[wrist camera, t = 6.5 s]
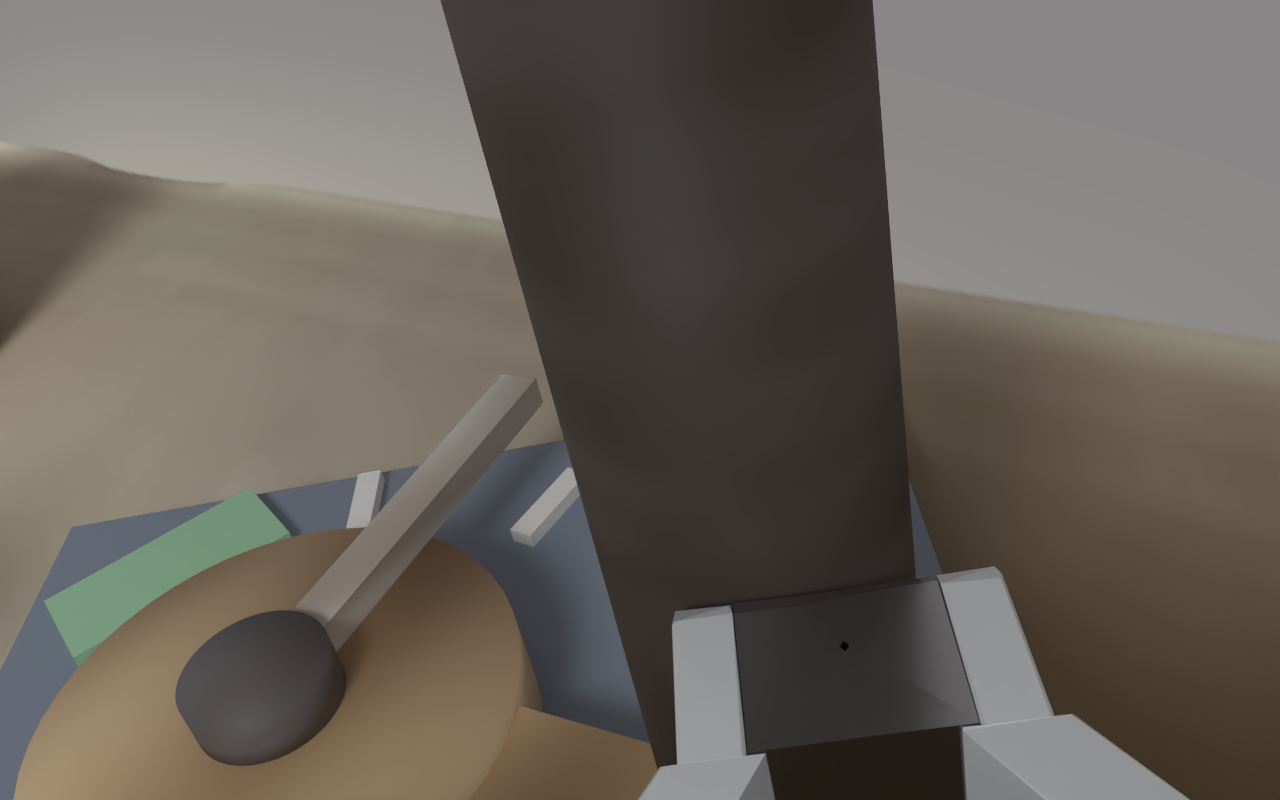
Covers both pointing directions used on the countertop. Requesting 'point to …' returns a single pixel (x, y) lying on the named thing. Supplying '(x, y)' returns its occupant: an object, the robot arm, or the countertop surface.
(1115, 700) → the countertop surface
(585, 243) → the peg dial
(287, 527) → the board
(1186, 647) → the countertop surface
